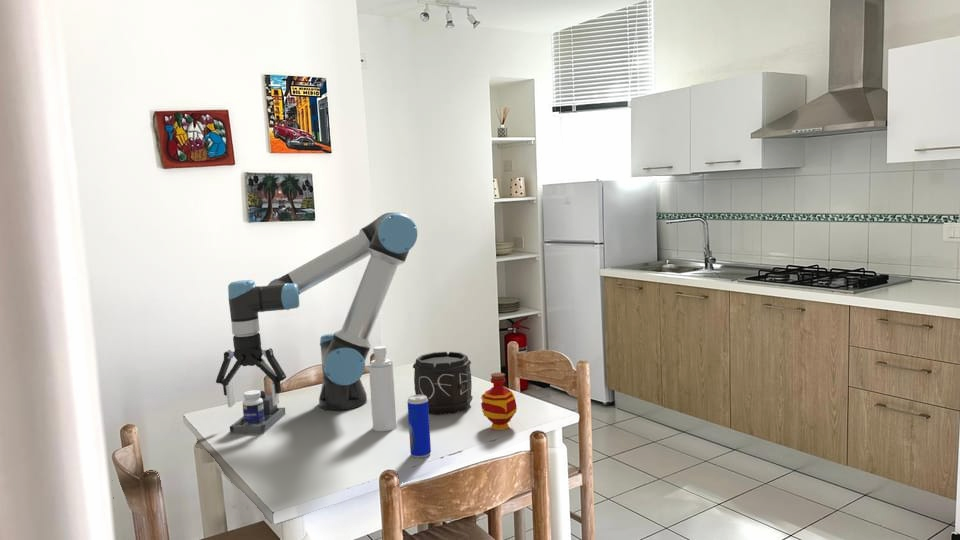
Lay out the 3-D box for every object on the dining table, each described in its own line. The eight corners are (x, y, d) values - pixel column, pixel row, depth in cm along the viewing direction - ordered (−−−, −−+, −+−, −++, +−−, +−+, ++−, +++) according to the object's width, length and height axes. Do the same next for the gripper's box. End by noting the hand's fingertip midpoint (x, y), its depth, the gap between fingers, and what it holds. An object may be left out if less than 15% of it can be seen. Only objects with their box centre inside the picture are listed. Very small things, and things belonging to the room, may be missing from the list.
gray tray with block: (285, 414, 213) (283, 387, 212) (263, 433, 196) (261, 403, 195) (254, 414, 214) (252, 387, 213) (230, 433, 197) (227, 404, 196)
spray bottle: (390, 432, 192) (385, 344, 189) (369, 430, 194) (363, 344, 191) (400, 424, 198) (395, 339, 196) (379, 423, 200) (373, 339, 197)
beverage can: (410, 451, 176) (407, 395, 175) (430, 450, 177) (427, 393, 175) (410, 459, 171) (407, 400, 170) (431, 457, 172) (427, 399, 170)
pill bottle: (240, 428, 199) (237, 394, 198) (250, 421, 205) (248, 389, 204) (258, 428, 198) (255, 395, 197) (268, 422, 204) (265, 389, 202)
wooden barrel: (440, 420, 200) (437, 368, 198) (404, 408, 213) (401, 358, 212) (485, 406, 212) (483, 356, 210) (449, 395, 225) (447, 348, 223)
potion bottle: (522, 421, 195) (520, 370, 194) (512, 434, 186) (510, 380, 184) (487, 419, 199) (485, 369, 197) (476, 431, 189) (473, 378, 187)
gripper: (292, 329, 201) (299, 399, 203) (211, 333, 203) (218, 402, 206) (283, 334, 194) (290, 407, 196) (198, 338, 196) (206, 410, 198)
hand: (253, 405), depth 201 cm, fingers open, 13 cm apart
